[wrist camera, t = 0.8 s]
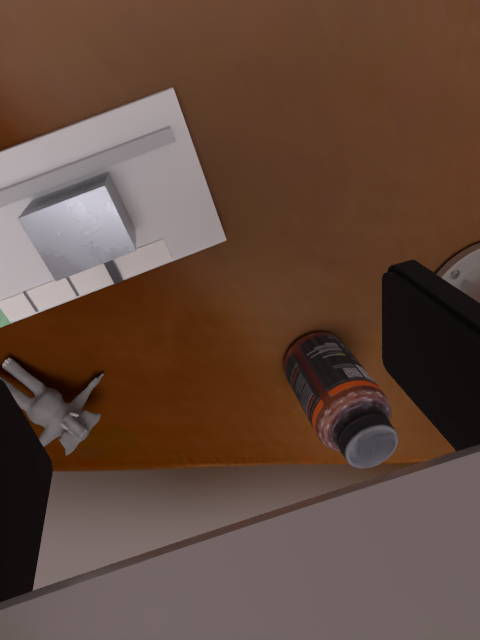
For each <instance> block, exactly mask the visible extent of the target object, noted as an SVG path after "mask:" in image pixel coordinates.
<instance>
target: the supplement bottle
mask: <svg viewBox="0 0 480 640" xmlns="http://www.w3.org/2000/svg"><path fill="white" fill-rule="evenodd" d="M284 372H285V375H286V377H287V379H288V382H289V383H290V385H291V387H292V389H293V391H294V393H295V395H296V396H297V398H298V400H299V402H300V404H301V406H302V408H303V410H304V412H305V413H306V415H307V417H308V419H309V421H310V423H311V425H312V427H313V429H314V430H315V432H316V434H317V436H318V437H319V439H320V440H321V442H322V443H323V444H324V445H326V446H327V447H329V448H330V449H332V450H335V451H340V452H341V453H342V454H343V456H344V457H345V459H346V461H347V462H348V463H349V464H350V465H351V466H354V467H356V468H370V467H373V466H376V465H378V464H380V463H382V462H384V461H385V460H386V459H388V458H389V457H390V456H391V455H392V454H393V452H394V451H395V449H396V447H397V444H398V434H397V432H396V430H395V429H394V428H393V426H392V425H391V424H390V419H391V406H390V403H389V400H388V399H387V397H386V396H385V394H384V393H383V392H382V390H381V389H380V388H379V387H378V385H377V384H376V383H375V382H374V380H373V379H372V378H371V377H370V375H369V374H368V373H367V372H366V370H365V369H364V368H363V367H362V365H361V364H360V363H359V362H358V360H357V359H356V358H355V357H354V355H353V354H352V353H351V352H350V350H349V349H348V348H347V347H346V345H345V344H344V343H343V342H342V341H341V340H340V339H339V338H338V337H336V336H335V335H333V334H330V333H325V332H317V333H312V334H308V335H306V336H304V337H302V338H301V339H299V340H298V341H297V342H296V343H294V344H293V345H292V347H291V348H290V349H289V350H288V352H287V354H286V357H285V360H284Z"/></svg>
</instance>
